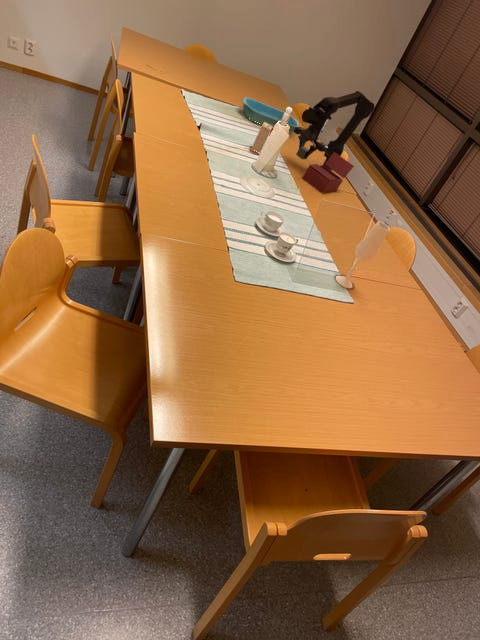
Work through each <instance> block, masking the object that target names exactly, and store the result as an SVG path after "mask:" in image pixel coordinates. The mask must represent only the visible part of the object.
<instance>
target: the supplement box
mask: <svg viewBox="0 0 480 640" xmlns="http://www.w3.org/2000/svg"><path fill="white" fill-rule="evenodd" d="M272 127H273V126H272V125H270V124H268V123H266V122H264V123H263V124H262V125H260V129H259V131H258V133H257V135H256V136H255V137H256V138H255V140H254V142H253V144H252V146H251V148H250V152H252V153H254V154H256V155H260V154H261V151H262V150H263V148H264V146H265V144H266V142H267V140H268V138H269V136H270V133H271V131H272V130H273V129H272ZM254 150H255V151H254ZM256 151H257V152H256ZM258 152H260V153H258Z"/></svg>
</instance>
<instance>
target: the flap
mask: <svg viewBox="0 0 480 640" xmlns="http://www.w3.org/2000/svg"><path fill="white" fill-rule="evenodd" d="M325 165H326V166H328V167H329V168H330V169H332V172H334V173H335V174H336V175H338V176H339V177H340V178H342V179H345V178H346V177H347V176H348V174H349V173H350V172H351V171H352V169H353V168H355V165H354V164H352V163H350V162H349V161H348V160H346V159H345V158H344V157H342V155H341V156H339V155H338V154H337V153H335V152H334V153H333V154H332V155H331V156H330V158H329V159H328V160H327V162H326V163H325Z"/></svg>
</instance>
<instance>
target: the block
mask: <svg viewBox="0 0 480 640" xmlns="http://www.w3.org/2000/svg"><path fill="white" fill-rule="evenodd" d="M308 151H309V148H308V147H306V146H304V147H300V148H299V147H298V150H297V151H296V154H295V155H296V156H297V157H298V158H299V159H301V160H308V158H309V156H308V157H307V158H305V156H306V154H307V152H308Z"/></svg>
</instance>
